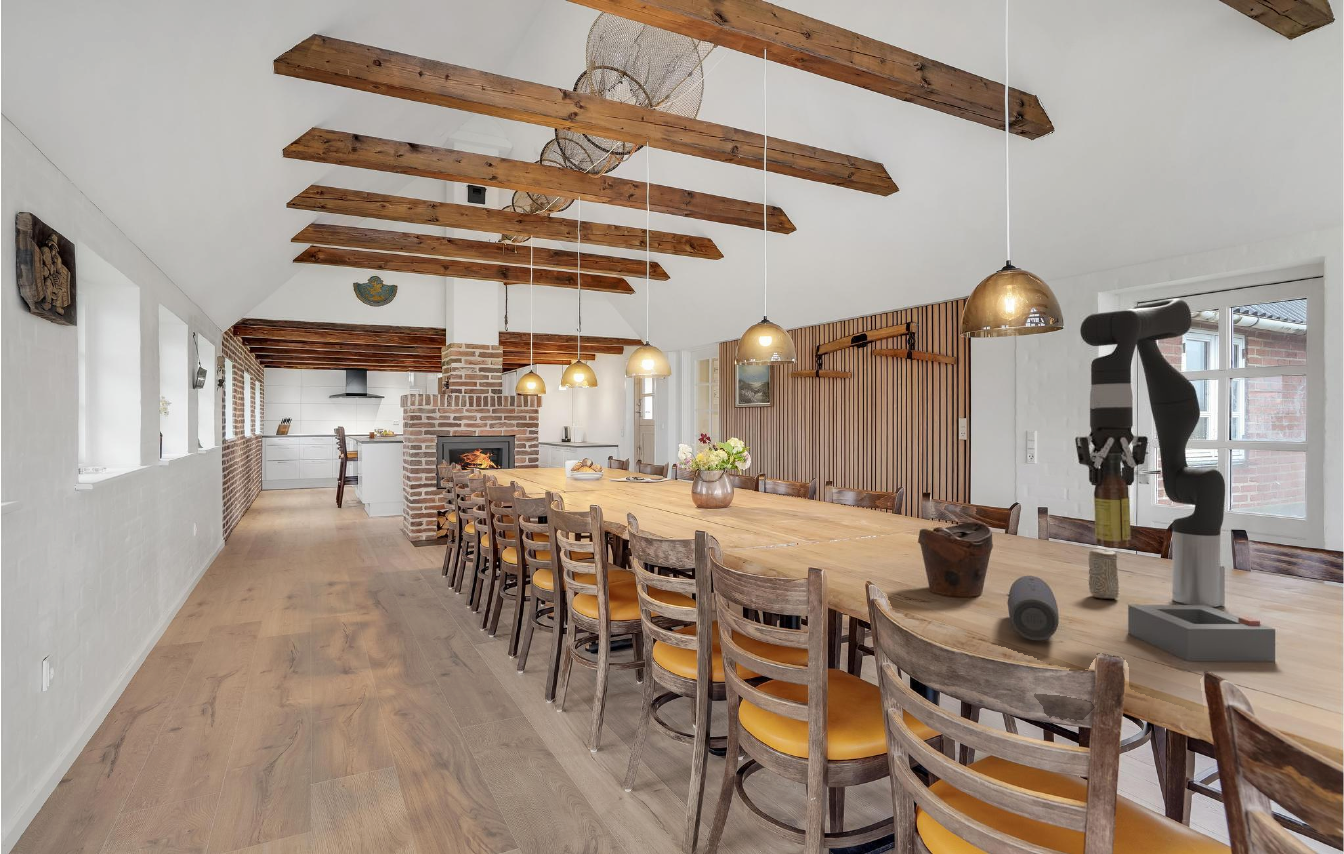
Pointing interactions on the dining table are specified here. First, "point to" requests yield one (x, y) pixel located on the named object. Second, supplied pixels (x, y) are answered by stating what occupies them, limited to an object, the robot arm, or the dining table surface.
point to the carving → (1103, 574)
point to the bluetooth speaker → (1033, 608)
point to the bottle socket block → (1202, 633)
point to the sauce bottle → (1112, 505)
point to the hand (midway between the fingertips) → (1111, 484)
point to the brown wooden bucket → (956, 558)
